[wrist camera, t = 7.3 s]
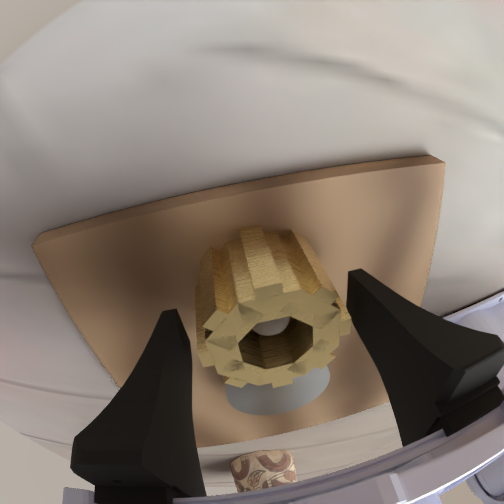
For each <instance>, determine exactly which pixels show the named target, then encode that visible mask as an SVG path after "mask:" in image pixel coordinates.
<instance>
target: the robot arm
mask: <svg viewBox="0 0 504 504" xmlns="http://www.w3.org/2000/svg"><path fill="white" fill-rule="evenodd" d="M346 308H347V311H348V313H349V315H350V316H351V321H352V323H353V325H354V327H355V329H356V331H357V333H358V335H359V336H360V338H361V340H362V342H363V344H364V345H365V347H366V349H367V351H368V353H369V354H370V356H371V358H372V360H373V362H374V363H375V365H376V367H377V369H378V371H379V374H380V376H381V379H382V381H383V384H384V386H385V389H386V392H387V394H388V397H389V400H390V403H391V406H392V409H393V412H394V415H395V419H396V422H397V425H398V429H399V433H400V437H401V441H402V445H403V447H402V448H400V449H397V450H395V451H393V452H390V453H388V454H385V455H382V456H380V457H378V458H375V459H372V460H369V461H367V462H364V463H361V464H358V465H355V466H352V467H349V468H346V469H342V470H339V471H336V472H333V473H329V474H326V475H322V476H318V477H315V478H311V479H307V480H303V481H299V482H294V483H290V484H285V485H281V486H276V487H271V488H265V489H260V490H254V491H247V492H241V493H233V494H226V495H216V496H207V495H206V491H205V487H204V483H203V478H202V474H201V469H200V463H199V458H198V452H197V446H196V439H195V432H194V424H193V414H192V353H191V344H190V339H189V337H188V335H187V332H186V330H185V328H184V325H183V323H182V320H181V318H180V315H179V313H178V311H177V308H176V309H170V310H165V311H162V313H161V314H160V317H159V319H158V321H157V323H156V326H155V328H154V330H153V332H152V334H151V337H150V339H149V341H148V343H147V345H146V347H145V349H144V351H143V353H142V355H141V356H140V358H139V360H138V362H137V364H136V365H135V367H134V369H133V371H132V372H131V374H130V375H129V377H128V379H127V380H126V381H125V383H124V384H123V386H122V387H121V389H120V390H119V391H118V393H117V394H116V395H115V397H114V398H113V399H112V400H111V402H110V403H109V404H108V405H107V406H106V408H105V409H104V410H103V411H102V412H101V413H100V414H99V415H98V416H97V417H96V418H95V419H94V420H93V421H92V422H91V423H90V424H89V425H88V426H87V427H86V428H85V429H83V430H82V431H81V432H80V433H79V434H78V435H77V436H75V437H74V442H73V447H72V455H71V465H70V468H71V469H72V471H73V472H74V473H75V474H77V475H78V476H80V477H81V478H83V479H85V480H86V481H88V482H90V483H91V484H93V485H95V492H93V491H89V490H84V489H75V488H68V487H65V488H64V491H63V504H442V502H441V500H440V498H439V495H441V494H442V493H444V492H446V491H448V490H450V489H451V488H453V487H455V486H456V485H458V484H460V483H461V482H463V481H465V480H466V482H467V484H468V486H469V488H470V489H471V491H472V492H473V493H474V495H475V496H477V497H478V498H480V499H481V500H482V501H483V503H484V504H504V291H503V292H501V293H499V294H497V295H494V296H492V297H490V298H488V299H486V300H484V301H481V302H479V303H477V304H475V305H472V306H470V307H468V308H465V309H463V310H461V311H458V312H456V313H453V314H451V315H448V316H446V317H443V318H441V317H439V316H436V315H434V314H432V313H430V312H428V311H426V310H424V309H422V308H421V307H419V306H417V305H415V304H414V303H412V302H410V301H409V300H407V299H405V298H404V297H402V296H401V295H399V294H398V293H396V292H395V291H393V290H392V289H390V288H389V287H387V286H386V285H384V284H383V283H382V282H380V281H379V280H377V279H376V278H374V277H373V276H372V275H370V274H369V273H367V272H366V271H364V270H363V269H362V268H360V269H356V270H352V271H348V282H347V300H346ZM393 471H394V472H393ZM390 472H391V473H390Z"/></svg>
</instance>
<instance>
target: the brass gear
mask: <svg viewBox="0 0 504 504" xmlns="http://www.w3.org/2000/svg"><path fill="white" fill-rule="evenodd" d="M239 232H240V237H241V238H237V239H232V240H227V241H226V243H225V244H224V245H223V247H222V248H221V249H220V251H219V250H217V249H215V248H213V247H211V246H210V248H209V249H208V250H207V252H206V253H205V255H204V256H203V257H202V259H201V260H200V286H197V287H195V310H196V339H197V354H198V357H199V359H200V361H201V363H202V366H203V367H208V366H214V365H215V368H216V370H217V373H218V374H220V375H223V378H224V383H226V384H229V385H233V386H237V387H240V388H242V387H243V386H245V385H246V384H247V383H251V384H254V385H258V386H260V385H264V384H269V383H272V386H273V388H276V387H280V386H284V385H288V384H293V380H292V378H295V377H299V376H303V375H306V374H307V373H308V372H309V371H311V370H312V369H313V368H314V367H315V368H319V369H323V368H324V367H325V366H326V365H327V364H328V363H330V362H331V361H332V360H333V359H334V358H335V357H336V356H335V354H334V352H333V351H334V350H335V349H336V348H337V347H338V346H339V337H341V336H344V335H348V334H350V329H351V316H350V315H349V313H348V311H347V309H346V307H345V306H344V304H343V302H342V300H341V298H340V296H339V295H338V293H337V291H336V289H335V287H334V286H333V284H332V282H331V280H330V278H329V277H328V275H327V273H326V271H325V270H324V268H323V266H322V264H321V263H320V261H319V259H318V258H317V256H316V254H315V252H314V251H313V249H312V247H311V245H310V244H309V242H308V240H307V239H306V238H305V237H303V236H301V235H300V234H298V233H297V232H295V231H294V230H292V229H291V231H290V232H289V233H288V234H287V235H286V237H284V236H283V235H281V234H280V233H278V232H276V231H271V232H266V233H263V231H262V228H261V225H260V224H259V225H254V226H249V227H244V228H239ZM288 316H290V320H289V323H288V325H287V326H286V328H285V329H284V330H283V331H281V332H280V333H278V334H275V335H271V336H265V335H261V334H258V333H256V332H255V331H254V330H253V329H252V328H253V327H254V326H255V325H256V324H257V323H261V322H266V321H270V320H275V319H279V318H283V317H288Z"/></svg>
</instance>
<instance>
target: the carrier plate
mask: <svg viewBox="0 0 504 504" xmlns="http://www.w3.org/2000/svg"><path fill="white" fill-rule="evenodd" d="M444 174H445V162H443V161H441V160H439V159H437V158H436V157H434V156H432V155H430V156H419V157H409V158H399V159H390V160H382V161H374V162H366V163H358V164H351V165H343V166H336V167H330V168H323V169H316V170H310V171H304V172H298V173H292V174H286V175H280V176H274V177H269V178H263V179H258V180H253V181H247V182H242V183H237V184H232V185H227V186H222V187H217V188H213V189H208V190H203V191H199V192H194V193H190V194H185V195H181V196H176V197H172V198H168V199H164V200H159V201H155V202H151V203H147V204H143V205H139V206H135V207H131V208H127V209H124V210H120V211H116V212H112V213H108V214H105V215H101V216H98V217H94V218H90V219H87V220H83V221H80V222H76V223H73V224H70V225H66V226H63V227H60V228H56V229H53V230H50V231H47V232H43V233H41V234H40V235H39V236H38V238H37V239H36V240H35V242H34V243H33V244H32V248H33V250H34V253H35V255H36V257H37V259H38V260H39V262H40V264H41V266H42V268H43V270H44V272H45V274H46V276H47V278H48V279H49V281H50V283H51V285H52V287H53V288H54V290H55V292H56V294H57V295H58V297H59V299H60V301H61V302H62V304H63V306H64V307H65V309H66V311H67V312H68V314H69V315H70V317H71V319H72V320H73V322H74V323H75V325H76V326H77V328H78V330H79V331H80V333H81V334H82V336H83V337H84V339H85V340H86V342H87V343H88V345H89V346H90V347H91V349H92V350H93V352H94V353H95V355H96V356H97V357H98V359H99V360H100V362H101V363H102V364H103V366H104V367H105V368H106V370H107V371H108V372H109V374H110V375H111V376H112V378H113V379H114V380H115V382H116V383H117V384H118V386H119V387H120V388H121V387H122V386H123V384H124V383H125V381H126V380H127V379H128V377H129V375H130V374H131V372H132V371H133V369H134V367H135V365H136V364H137V362H138V360H139V358H140V356H141V355H142V353H143V351H144V349H145V347H146V345H147V343H148V341H149V339H150V337H151V334H152V332H153V330H154V328H155V326H156V323H157V321H158V319H159V317H160V314H161V313H162V311H165V310H170V309H176V308H177V311H178V313H179V315H180V318H181V320H182V323H183V325H184V328H185V330H186V332H187V335H188V337H189V339H190V344H191V353H192V414H193V424H194V432H195V439H196V446H197V448H200V447H208V446H216V445H223V444H229V443H236V442H242V441H248V440H253V439H258V438H263V437H268V436H273V435H278V434H282V433H287V432H291V431H295V430H299V429H303V428H307V427H311V426H315V425H318V424H322V423H326V422H329V421H332V420H336V419H339V418H342V417H346V416H349V415H352V414H355V413H358V412H361V411H364V410H367V409H370V408H373V407H375V406H378V405H381V404H384V403H386V402H389V397H388V394H387V392H386V389H385V386H384V384H383V381H382V379H381V376H380V374H379V371H378V369H377V367H376V365H375V363H374V362H373V360H372V358H371V356H370V354H369V353H368V351H367V349H366V347H365V345H364V344H363V342H362V340H361V338H360V336H359V335H358V333H357V331H356V329H355V327H354V325H353V323H352V321H351V329H350V334H348V335H344V336H341V337H339V346H338V347H337V348H336V349H335V350H334V351H333V352H334V354H335V356H336V357H335V358H334V359H333V360H332V361H331V362H330V363H328V364H327V365H326V366H325V367H324V368H323V369H319V368H315V367H314V368H313V369H312V370H311V371H309V372H308V373H307V374H306V375H303V376H299V377H295V378H292V380H293V384H288V385H284V386H280V387H276V388H273V386H272V383H269V384H264V385H260V386H258V385H254V384H251V383H247V384H246V385H245V386H243V387H242V388H240V387H237V386H233V385H229V384H226V383H224V378H223V375H220V374H218V373H217V370H216V368H215V365H214V366H208V367H203V366H202V363H201V361H200V359H199V357H198V354H197V339H196V310H195V287H197V286H200V260H201V259H202V257H203V256H204V255H205V253H206V252H207V250H208V249H209V248H210V246H211V247H213V248H215V249H217V250H219V251H220V249H221V248H222V247H223V245H224V244H225V243H226V241H227V240H232V239H237V238H241V237H240V232H239V228H244V227H249V226H254V225H259V224H260V225H261V228H262V231H263V233H266V232H271V231H276V232H278V233H280V234H281V235H283V236H284V237H286V235H287V234H288V233H289V232H290V231H291V229H292V230H294V231H295V232H297V233H298V234H300V235H301V236H303V237H305V238H306V239H307V240H308V242H309V244H310V245H311V247H312V249H313V251H314V252H315V254H316V256H317V258H318V259H319V261H320V263H321V264H322V266H323V268H324V270H325V271H326V273H327V275H328V277H329V278H330V280H331V282H332V284H333V286H334V287H335V289H336V291H337V293H338V295H339V296H340V298H341V300H342V302H343V304H344V306H345V307H346V300H347V282H348V271H352V270H356V269H360V268H362V269H363V270H364V271H366V272H367V273H369V274H370V275H372V276H373V277H374V278H376V279H377V280H379V281H380V282H382V283H383V284H384V285H386V286H387V287H389V288H390V289H392V290H393V291H395V292H396V293H398V294H399V295H401V296H402V297H404V298H405V299H407V300H409V301H410V302H412V303H414V304H415V305H417V306H419V307H421V303H422V299H423V295H424V291H425V287H426V283H427V279H428V274H429V270H430V265H431V261H432V256H433V251H434V245H435V240H436V234H437V228H438V222H439V215H440V208H441V201H442V193H443V184H444ZM346 309H347V308H346ZM289 320H290V316H288V317H283V318H279V319H275V320H270V321H266V322H261V323H257V324H256V325H255V326H254V327H253V328H252V329H253V330H254V331H255V332H256V333H258V334H261V335H265V336H271V335H275V334H278V333H280V332H281V331H283V330H284V329H285V328H286V326H287V325H288V323H289Z"/></svg>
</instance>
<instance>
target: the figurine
mask: <svg viewBox="0 0 504 504" xmlns="http://www.w3.org/2000/svg"><path fill="white" fill-rule="evenodd" d="M231 470H232V475H233V478H234V481H235V484H236V488H237V491H238V493H241V492H247V491H254V490H260V489H265V488H271V487H276V486H281V485H285V484H290V483H294V482H297V480H296V470H295V464H294V460H293V457H292V455H291V453H290V452H289V451H286V450H269V451H256V452H252V453H249V454H244V455H242V456H240V457H239V458H237V459H235V460H234V461H233V462H232V463H231Z"/></svg>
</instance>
